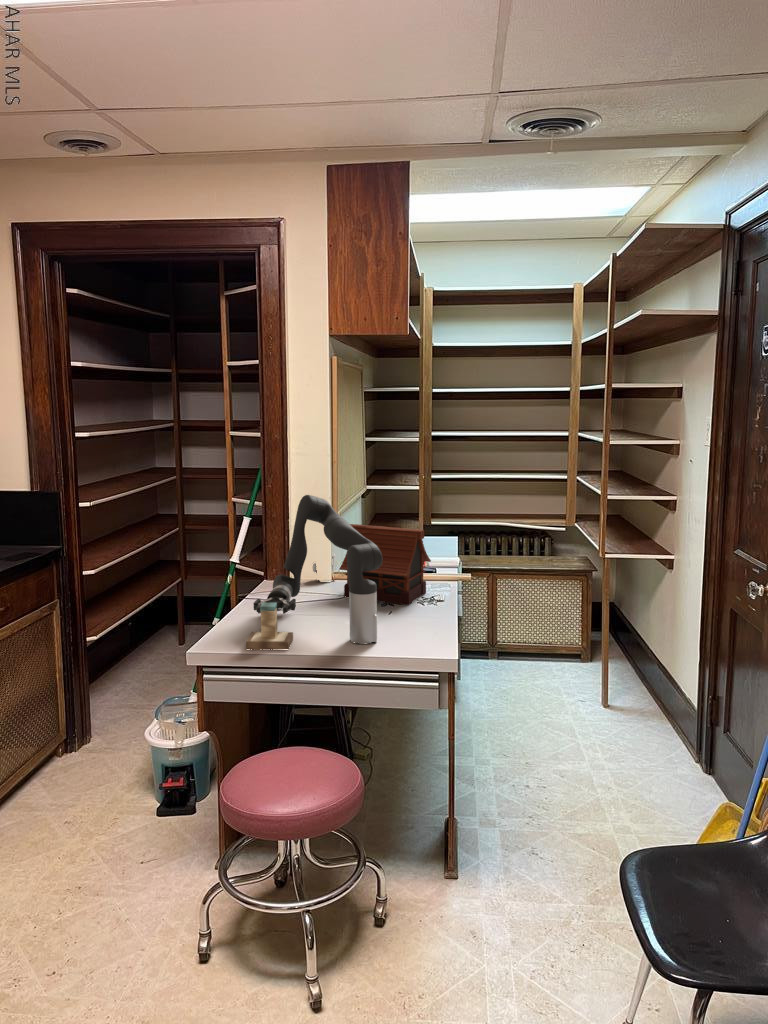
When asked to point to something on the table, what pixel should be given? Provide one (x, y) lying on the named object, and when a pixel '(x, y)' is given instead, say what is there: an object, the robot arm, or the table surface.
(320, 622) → the table surface
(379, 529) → the house
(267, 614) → the teal topped tan block
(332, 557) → the cup
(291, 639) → the dock
